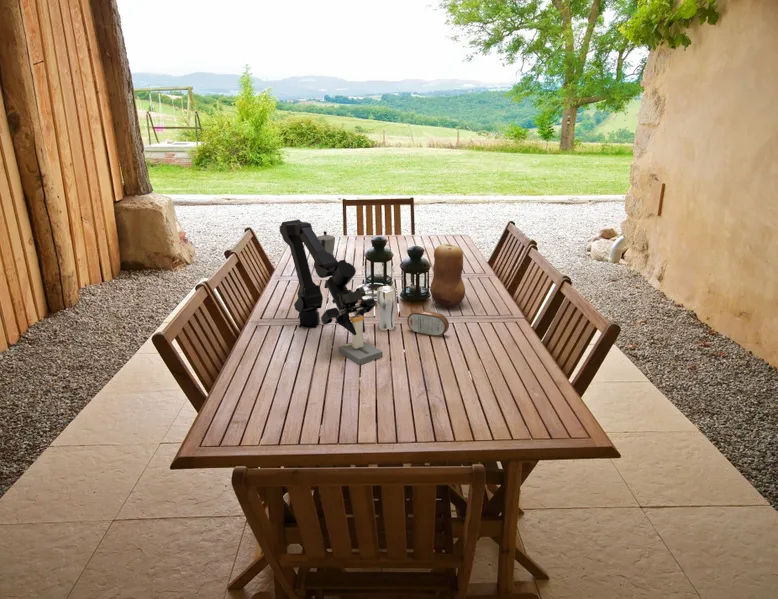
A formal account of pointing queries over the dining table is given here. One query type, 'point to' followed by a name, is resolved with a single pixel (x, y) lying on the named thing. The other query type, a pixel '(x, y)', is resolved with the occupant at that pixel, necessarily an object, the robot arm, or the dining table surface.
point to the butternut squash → (448, 276)
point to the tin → (428, 322)
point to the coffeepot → (327, 242)
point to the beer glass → (386, 306)
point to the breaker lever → (357, 331)
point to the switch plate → (360, 353)
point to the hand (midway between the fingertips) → (359, 333)
